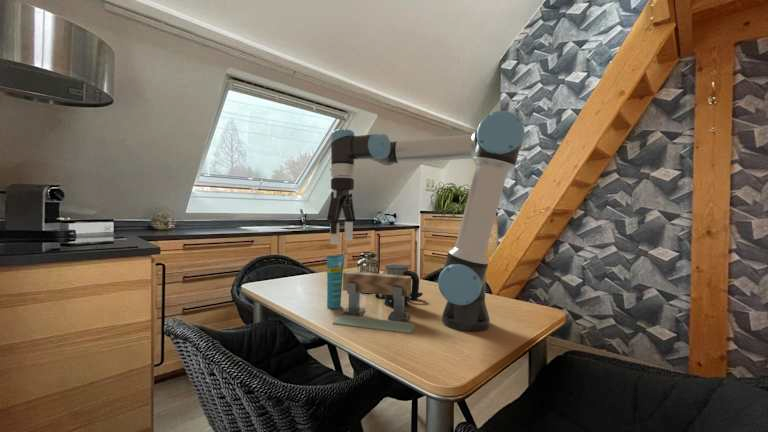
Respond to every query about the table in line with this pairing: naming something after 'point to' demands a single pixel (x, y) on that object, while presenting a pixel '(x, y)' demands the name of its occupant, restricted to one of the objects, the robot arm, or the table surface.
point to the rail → (377, 282)
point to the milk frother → (403, 270)
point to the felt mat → (375, 324)
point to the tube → (334, 280)
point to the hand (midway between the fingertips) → (342, 242)
